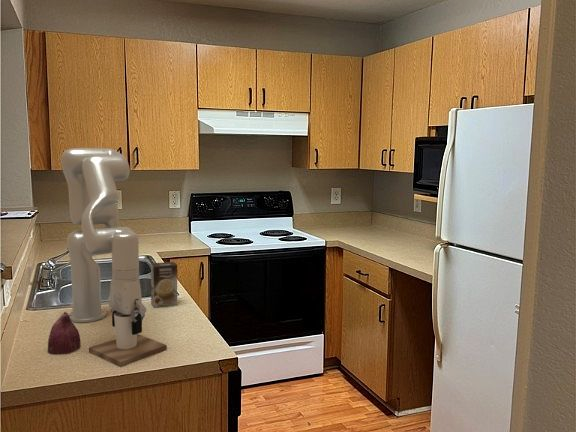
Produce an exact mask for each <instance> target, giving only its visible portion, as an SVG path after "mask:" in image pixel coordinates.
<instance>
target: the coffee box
mask: <svg viewBox="0 0 576 432" xmlns="http://www.w3.org/2000/svg"><path fill="white" fill-rule="evenodd" d="M150 304H151V305H152V307H153V308H164V307H165V308H167V307H175V306H176V307H177V306H178V264H177V263H175V262H174V261H169V262H151V263H150Z"/></svg>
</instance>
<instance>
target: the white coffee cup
mask: <svg viewBox="0 0 576 432" xmlns="http://www.w3.org/2000/svg"><path fill="white" fill-rule="evenodd" d="M133 311H134V310H133ZM135 316H137V313H135ZM114 321H115V327H114V331H115V339H116V345H117V348H119V349H130V348H133V347H135V346H136V345H137V334H135V335H132V321H133V319H132V317H131V315H130V314H129V315H125V314H122V313H120V312H116V313H115V314H114Z"/></svg>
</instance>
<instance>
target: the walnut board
mask: <svg viewBox="0 0 576 432" xmlns="http://www.w3.org/2000/svg"><path fill="white" fill-rule="evenodd" d="M167 348H168V347H167V344H165V343H163V342H159V341H157V340H155V339H152V338H149V337H146V336H145V335H142V334H140V333H138V334H137V345H136V346H135V347H133V348H130V349H119V348H117V345H116V338H113V339H110V340H108V341H104V342H101V343H98V344H95V345H93V346H89V347H88V353H89V354H92V355H94V356H95V357H98V358H100V359H102V360H105V361H107V362H109V363H111V364H113V365H115V366H118V367H120V368H122V367H125V366H127V365H130V364H132V363H135V362H138V361H140V360H143V359H146V358H148V357H151V356H153V355H154V356H155V355H156V354H159V353H162V352H164V351H167V350H168V349H167Z"/></svg>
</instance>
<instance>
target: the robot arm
mask: <svg viewBox="0 0 576 432" xmlns="http://www.w3.org/2000/svg"><path fill="white" fill-rule="evenodd" d="M60 163H61V164H60V165H61V170H62V173H63V175H64V177H65V180H66V182H67V188H68V204H69V205H68V206H69V217H70V220H71V221H70V222H71V223H72V224H74V225H76V226H81V229H76V230H73V231H72V232H70V233H68V235H67V237H66V245H67V250H68V255H69V264H70V274H71V275H70V278H71V279H70V280H71V297H72V298H71V300H72V301H71V302H72V303H70V305H69V307H70V308H72V311H71V312H70V313H68V314H69V316H70V319H71V321H72V322H73V323H89V322H90V323H91V322H96V321H100V320H101V319H104V318H105V317H106V316H107V311H106V310H104V309H102V296H101V295H102V286H101V285H102V284H101V267H100V266H99V264H98V263H97V261H95V260H94V258H93V256H94V257H95V256H101V255H110V254H111V271H112V272H111V274H112V275H111V276H112V277H111V280H110V285H109V296H108V297H107V300H108V303H109V304H108V305H109V306H108V307H109V308H110V313H111V325H112V327H113V328H115V321H114V314H115V313H116V312H120V313H122V314H125V315H129V314H130V315H131V317H132V319H133V321H132V335H135V334H140V333H142V332H143V320H144V317H145V316H146V312H147V308H146V307H145V305H144V304H143V303H142V302H143V300H142V298H143V297H142V288H141V283H140V282H141V280H140V262H139V261H140V259H139V258H140V256H139V255H140V251H139V243H140V242H139V235H138V234H137V232H134V231H133V230H132V229H131V228H130V227H128V226H120V222H119V221H120V220H119V216H120V215H119V207H118V205H117V202H118V200H119V198H120V197H119V191H118V190H117V186H116V182H120V181H121V182H123V181H126V180H128V178H129V176H130V173H131V172H130V165H129V162H128V160H127V158H126V157H125V156H124V155H123V154H122V153H120V152H119V151H117V150H116V149H113V148H109V147H108V148H106V147H105V148H102V147H101V148H100V147H94V148H93V147H72V148H68V149H66V150H64V151H63V152H62V154H61V159H60ZM94 225H102V226H103V227H96V228H95V226H94ZM133 310H134V311H133ZM135 313H137V316H135Z"/></svg>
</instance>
